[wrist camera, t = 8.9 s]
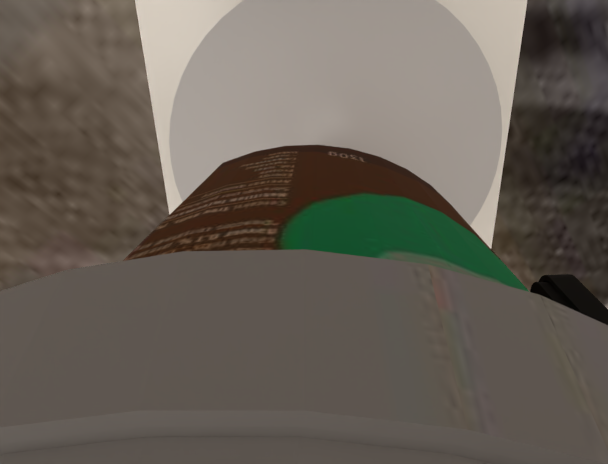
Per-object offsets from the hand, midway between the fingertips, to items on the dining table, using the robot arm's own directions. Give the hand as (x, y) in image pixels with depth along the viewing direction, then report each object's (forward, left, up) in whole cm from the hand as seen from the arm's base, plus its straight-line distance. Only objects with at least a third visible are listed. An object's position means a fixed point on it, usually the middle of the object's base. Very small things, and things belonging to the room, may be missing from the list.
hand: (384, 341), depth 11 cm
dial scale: (+3, 0, -19) cm, 19 cm away
